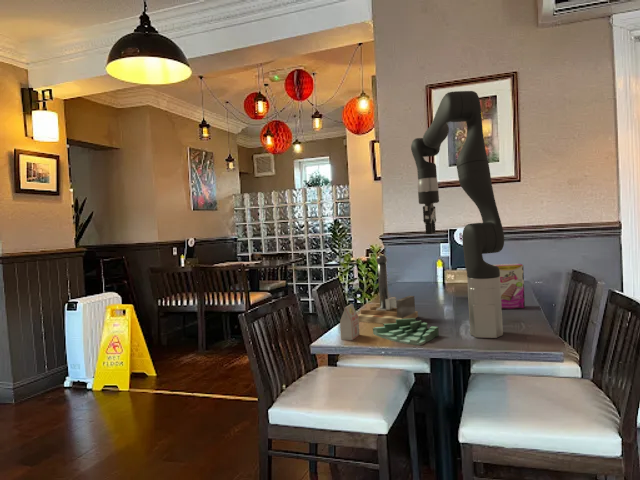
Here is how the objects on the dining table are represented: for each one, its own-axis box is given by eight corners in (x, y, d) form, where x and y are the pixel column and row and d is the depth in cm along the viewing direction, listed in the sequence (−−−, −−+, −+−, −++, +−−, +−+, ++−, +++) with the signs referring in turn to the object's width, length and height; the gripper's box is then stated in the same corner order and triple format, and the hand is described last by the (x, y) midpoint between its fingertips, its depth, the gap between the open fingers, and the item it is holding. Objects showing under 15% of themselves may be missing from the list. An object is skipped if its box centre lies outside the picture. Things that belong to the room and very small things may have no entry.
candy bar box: (494, 309, 174) (492, 265, 173) (491, 307, 179) (488, 264, 178) (526, 308, 173) (523, 264, 172) (521, 305, 178) (519, 263, 177)
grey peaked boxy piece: (341, 339, 145) (339, 307, 144) (348, 334, 151) (346, 303, 150) (352, 340, 143) (350, 307, 143) (359, 334, 149) (357, 303, 149)
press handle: (376, 314, 170) (372, 255, 169) (383, 311, 174) (379, 254, 173) (390, 315, 166) (386, 255, 166) (396, 312, 170) (393, 254, 169)
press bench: (355, 321, 170) (354, 299, 170) (375, 313, 181) (373, 293, 181) (400, 325, 159) (398, 301, 159) (417, 316, 170) (416, 295, 170)
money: (444, 334, 145) (444, 318, 144) (421, 347, 132) (420, 330, 132) (388, 328, 157) (387, 314, 157) (361, 339, 144) (360, 324, 144)
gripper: (421, 192, 185) (424, 233, 185) (414, 190, 172) (417, 234, 172) (440, 190, 182) (443, 232, 183) (435, 188, 169) (438, 233, 169)
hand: (430, 233), depth 177 cm, fingers open, 8 cm apart
